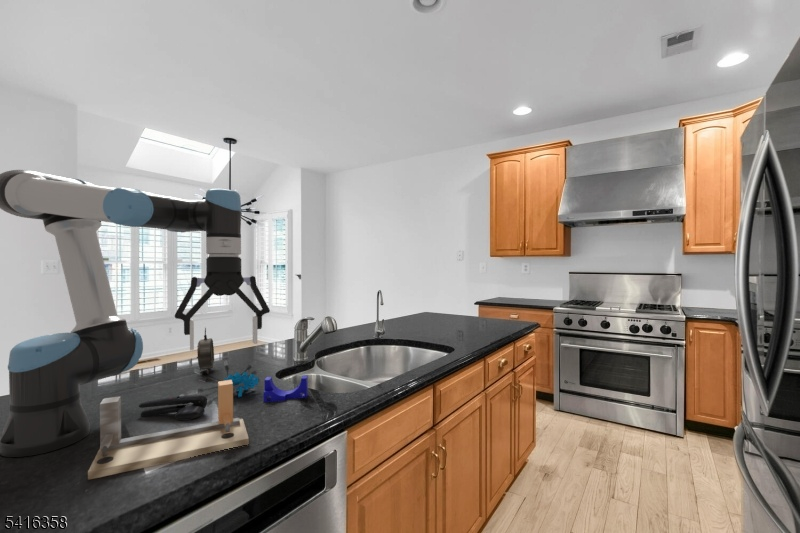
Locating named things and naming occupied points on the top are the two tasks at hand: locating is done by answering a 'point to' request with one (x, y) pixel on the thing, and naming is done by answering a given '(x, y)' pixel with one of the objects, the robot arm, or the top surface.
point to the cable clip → (279, 395)
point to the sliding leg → (225, 403)
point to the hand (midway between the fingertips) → (224, 345)
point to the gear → (242, 382)
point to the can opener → (177, 406)
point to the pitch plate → (157, 442)
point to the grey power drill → (205, 353)
